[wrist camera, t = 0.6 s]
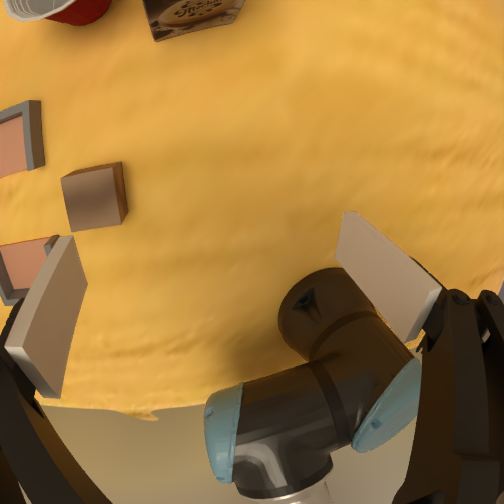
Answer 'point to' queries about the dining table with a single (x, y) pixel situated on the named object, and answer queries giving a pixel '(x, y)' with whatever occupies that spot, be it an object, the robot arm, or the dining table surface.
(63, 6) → the plastic cup
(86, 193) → the walnut block
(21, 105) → the channel
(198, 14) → the coffee box
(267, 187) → the dining table surface
